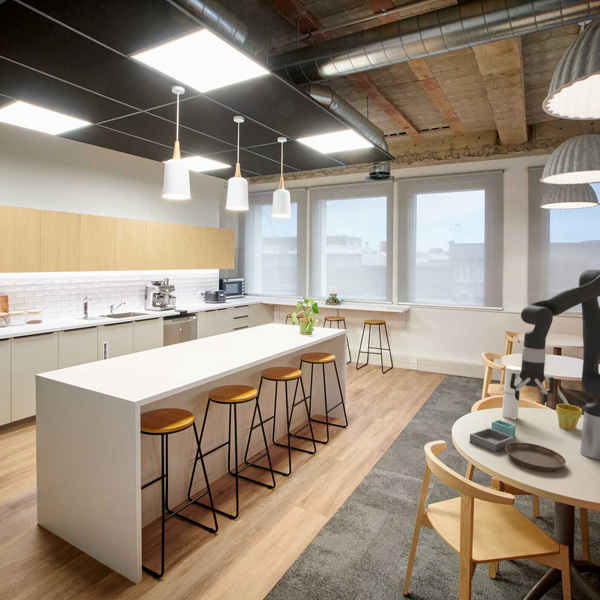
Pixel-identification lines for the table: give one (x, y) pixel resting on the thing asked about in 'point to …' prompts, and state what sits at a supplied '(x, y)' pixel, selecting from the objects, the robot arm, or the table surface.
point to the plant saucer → (535, 456)
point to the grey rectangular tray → (491, 439)
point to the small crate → (504, 427)
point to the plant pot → (568, 416)
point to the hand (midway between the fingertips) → (530, 401)
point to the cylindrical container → (510, 394)
